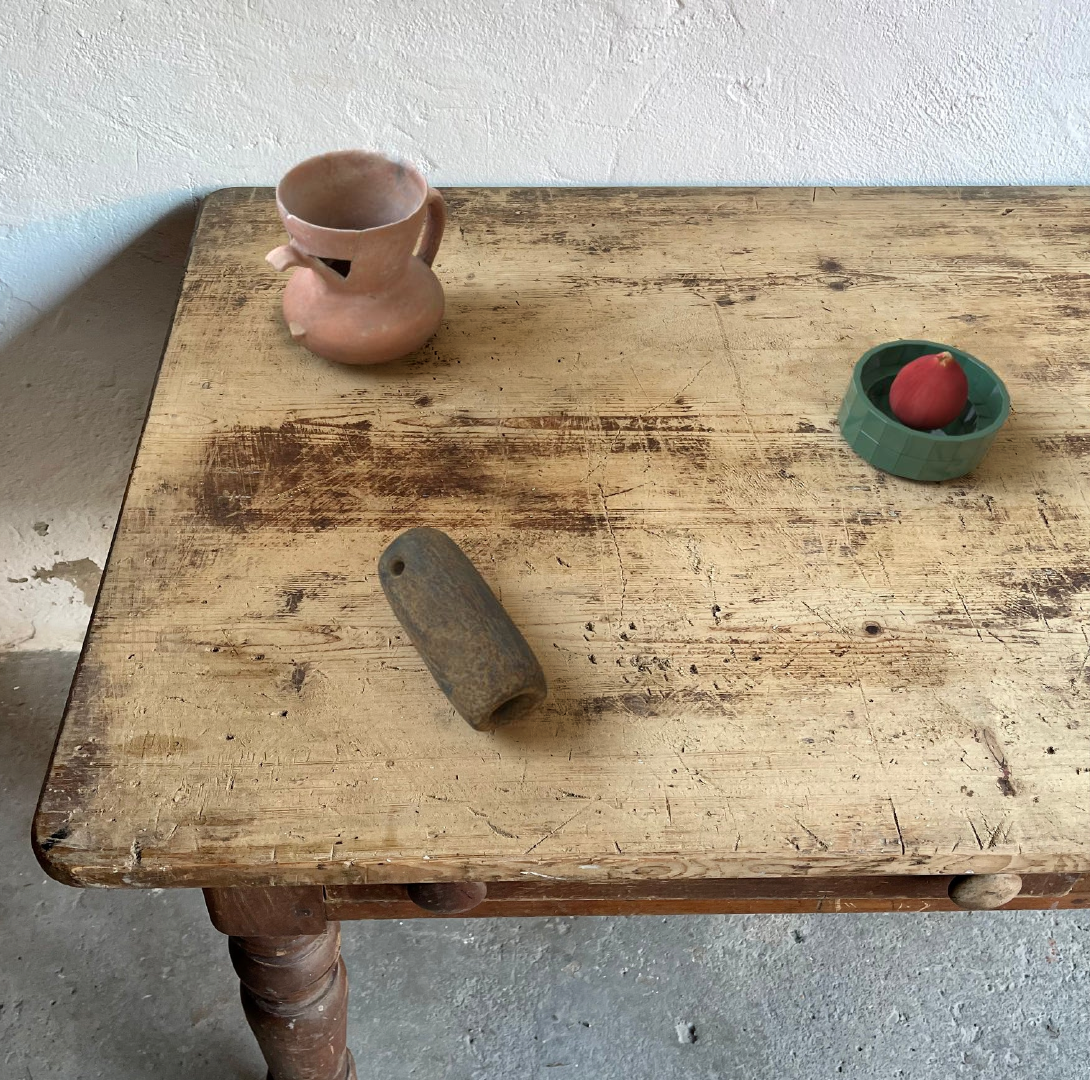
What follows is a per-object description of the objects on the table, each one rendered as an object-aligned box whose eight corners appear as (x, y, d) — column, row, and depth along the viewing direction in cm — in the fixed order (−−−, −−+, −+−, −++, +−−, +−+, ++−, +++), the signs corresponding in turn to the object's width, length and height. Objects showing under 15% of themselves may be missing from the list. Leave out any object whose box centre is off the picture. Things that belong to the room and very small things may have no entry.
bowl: (904, 368, 89) (924, 322, 85) (1015, 448, 83) (1043, 402, 79) (805, 419, 85) (822, 373, 81) (915, 507, 79) (939, 462, 75)
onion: (892, 395, 86) (926, 318, 80) (958, 422, 84) (997, 345, 78) (866, 433, 83) (899, 356, 77) (933, 462, 81) (972, 386, 75)
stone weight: (363, 605, 73) (354, 545, 67) (444, 564, 75) (441, 504, 70) (476, 758, 65) (476, 704, 60) (562, 707, 68) (569, 651, 62)
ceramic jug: (334, 411, 85) (313, 266, 74) (246, 328, 92) (214, 183, 81) (496, 328, 92) (500, 184, 81) (403, 256, 99) (394, 114, 88)
